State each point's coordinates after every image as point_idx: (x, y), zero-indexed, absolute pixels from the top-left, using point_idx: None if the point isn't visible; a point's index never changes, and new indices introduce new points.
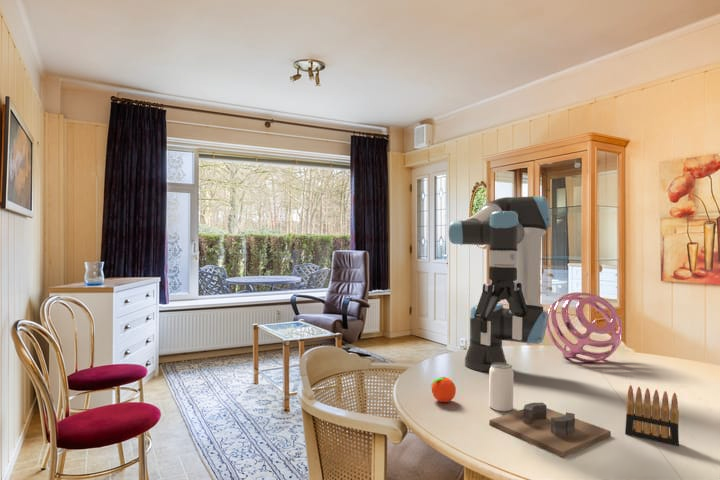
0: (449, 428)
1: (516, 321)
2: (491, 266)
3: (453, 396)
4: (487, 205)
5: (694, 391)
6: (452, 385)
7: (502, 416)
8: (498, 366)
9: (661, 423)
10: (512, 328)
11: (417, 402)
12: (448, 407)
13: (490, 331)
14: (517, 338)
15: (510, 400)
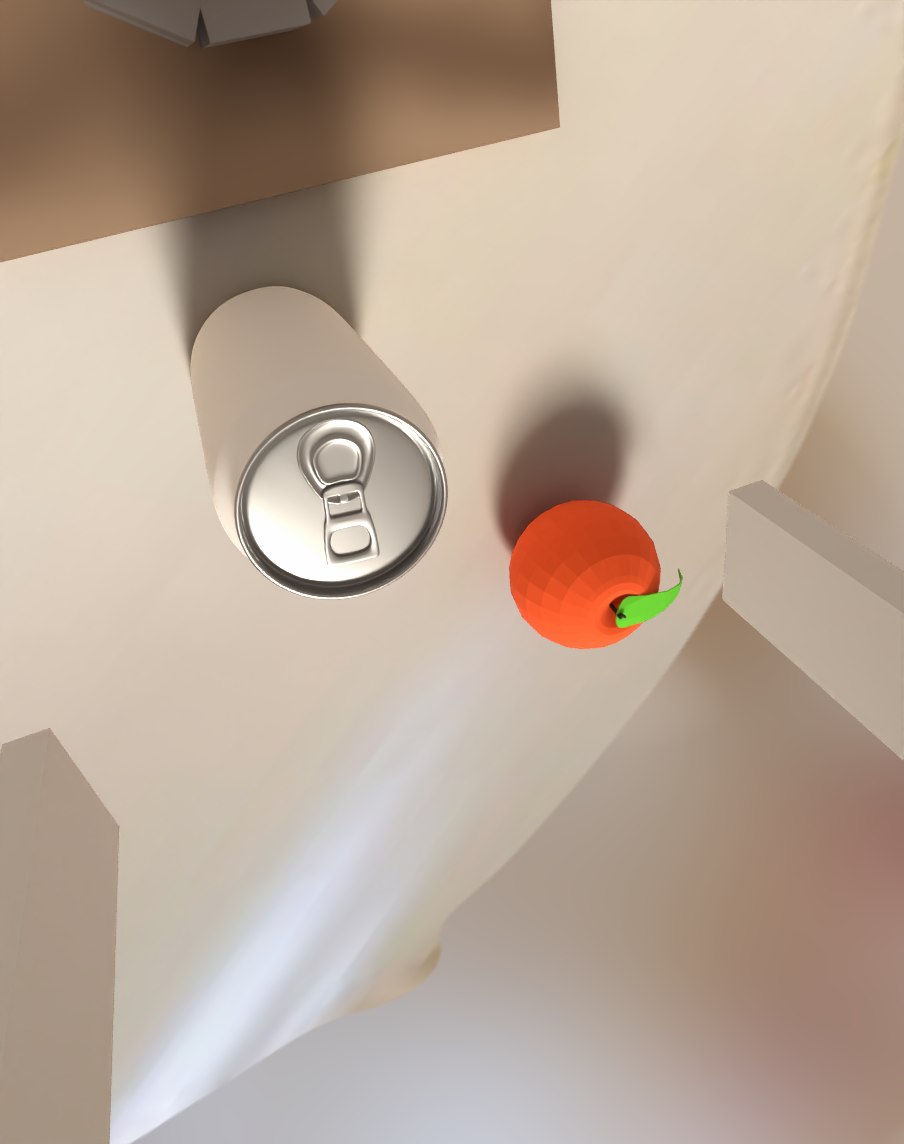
0: (774, 176)
1: (61, 1097)
2: None
3: (550, 512)
4: None
5: None
6: (585, 550)
7: (433, 148)
8: (378, 502)
9: None
10: (112, 975)
11: (671, 551)
12: (581, 456)
13: (878, 596)
14: (73, 780)
15: (262, 306)
